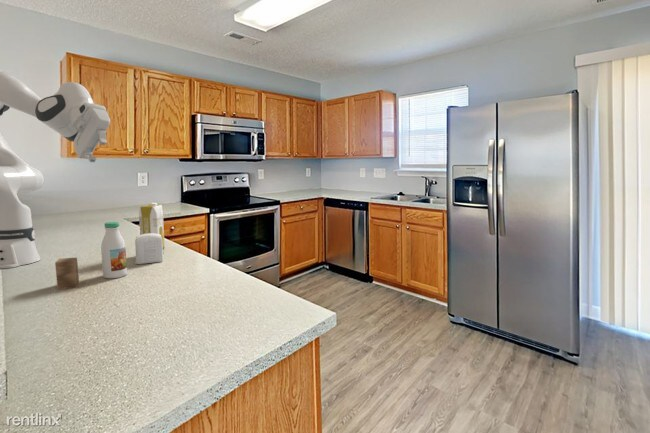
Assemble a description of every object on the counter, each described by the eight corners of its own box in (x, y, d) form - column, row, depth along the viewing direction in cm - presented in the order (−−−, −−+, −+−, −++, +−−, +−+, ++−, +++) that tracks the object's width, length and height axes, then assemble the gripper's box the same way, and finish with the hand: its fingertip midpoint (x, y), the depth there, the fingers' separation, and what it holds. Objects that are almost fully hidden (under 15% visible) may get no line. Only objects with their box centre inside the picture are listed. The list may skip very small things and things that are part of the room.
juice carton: (157, 258, 153) (154, 204, 150) (139, 258, 153) (135, 203, 150) (166, 253, 163) (164, 202, 159) (149, 252, 163) (147, 201, 159)
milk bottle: (102, 280, 125) (98, 224, 122) (104, 274, 131) (100, 221, 128) (127, 277, 128) (123, 223, 125) (127, 271, 135) (124, 220, 132)
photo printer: (162, 259, 152) (161, 231, 150) (164, 261, 149) (162, 233, 147) (135, 262, 147) (133, 233, 145) (136, 265, 143) (135, 235, 141)
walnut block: (57, 289, 115) (55, 262, 114) (61, 284, 120) (59, 258, 118) (75, 287, 117) (73, 261, 116) (79, 282, 122) (77, 257, 120)
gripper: (65, 139, 125) (76, 170, 121) (86, 99, 115) (100, 131, 112) (85, 141, 130) (96, 171, 127) (107, 103, 121) (120, 134, 117)
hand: (98, 152), depth 119 cm, fingers open, 8 cm apart
